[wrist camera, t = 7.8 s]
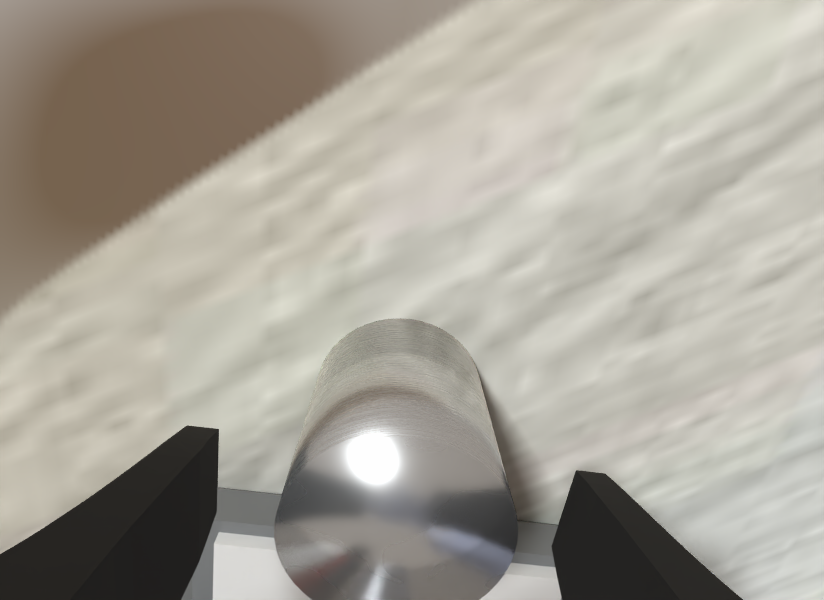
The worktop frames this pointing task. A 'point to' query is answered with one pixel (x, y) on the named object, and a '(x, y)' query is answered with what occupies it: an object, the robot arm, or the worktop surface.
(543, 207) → the worktop surface
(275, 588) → the scale
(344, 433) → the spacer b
